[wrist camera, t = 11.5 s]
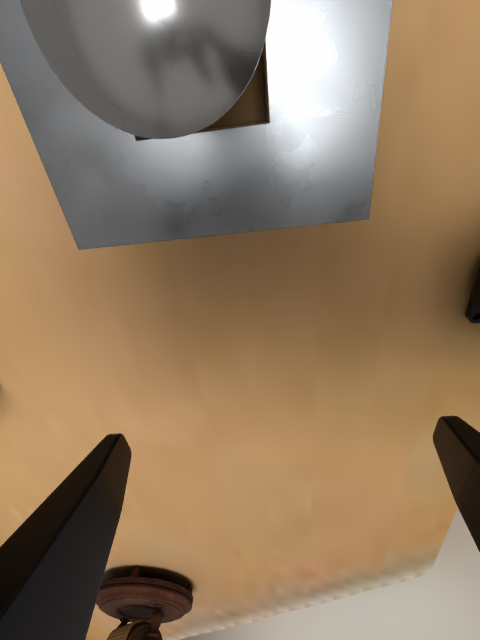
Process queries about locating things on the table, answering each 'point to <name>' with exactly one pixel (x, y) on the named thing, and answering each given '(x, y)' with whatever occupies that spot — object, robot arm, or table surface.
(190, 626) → the table surface
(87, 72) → the silver flanged peg
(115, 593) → the brown figurine
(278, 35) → the socket block
